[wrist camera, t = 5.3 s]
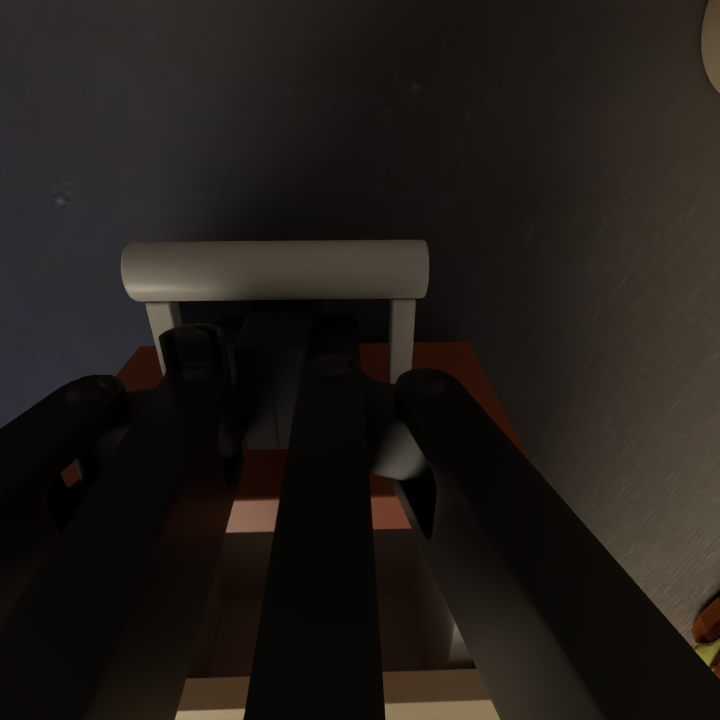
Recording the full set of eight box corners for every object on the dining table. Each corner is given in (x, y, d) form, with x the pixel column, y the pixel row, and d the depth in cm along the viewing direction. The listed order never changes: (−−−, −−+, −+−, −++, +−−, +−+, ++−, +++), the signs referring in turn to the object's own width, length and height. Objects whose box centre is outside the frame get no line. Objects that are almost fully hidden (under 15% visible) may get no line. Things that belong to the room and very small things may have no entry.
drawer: (101, 203, 15) (-107, 289, 8) (487, 201, 15) (605, 281, 8) (203, 588, 25) (148, 776, 18) (437, 581, 25) (473, 764, 18)
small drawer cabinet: (171, 476, 22) (61, 715, 13) (458, 470, 22) (530, 698, 14) (220, 659, 30) (170, 885, 21) (433, 652, 30) (468, 871, 21)
